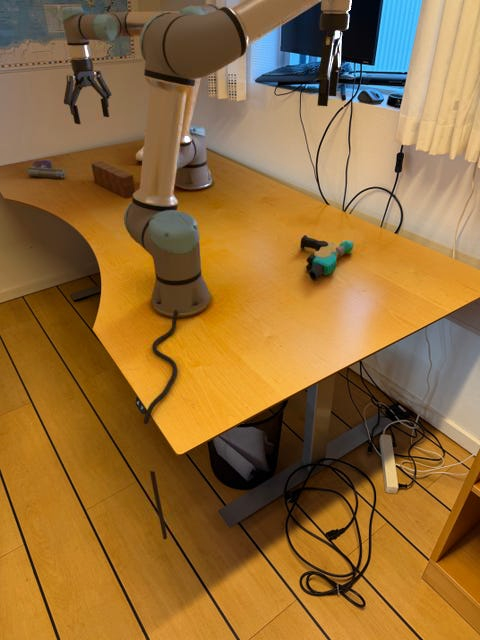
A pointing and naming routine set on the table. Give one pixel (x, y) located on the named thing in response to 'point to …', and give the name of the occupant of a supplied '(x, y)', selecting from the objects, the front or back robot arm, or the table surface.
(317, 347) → the table surface
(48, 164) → the toy gun
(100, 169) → the bar
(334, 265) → the toy gun
